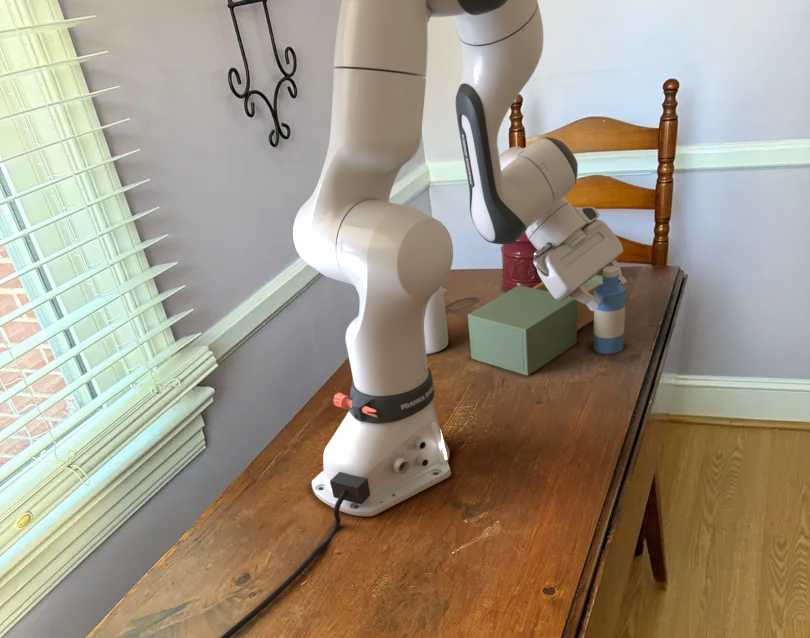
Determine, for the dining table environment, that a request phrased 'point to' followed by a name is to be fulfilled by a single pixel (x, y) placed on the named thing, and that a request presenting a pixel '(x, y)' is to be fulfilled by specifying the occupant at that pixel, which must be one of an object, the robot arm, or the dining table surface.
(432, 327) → the pill bottle
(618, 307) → the bottle
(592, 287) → the drawer
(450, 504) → the dining table surface
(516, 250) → the kitchen canister
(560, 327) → the cabinet
